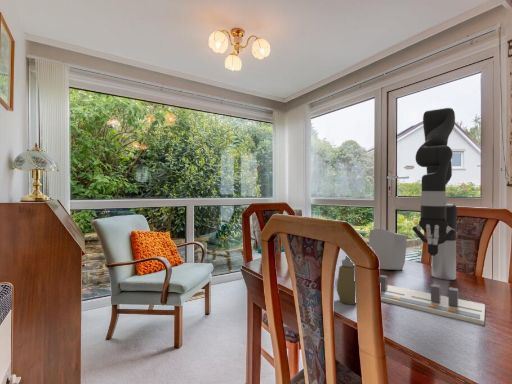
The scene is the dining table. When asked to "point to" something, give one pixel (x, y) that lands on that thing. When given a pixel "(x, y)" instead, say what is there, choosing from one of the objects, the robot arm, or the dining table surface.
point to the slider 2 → (453, 296)
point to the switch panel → (435, 304)
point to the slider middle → (435, 293)
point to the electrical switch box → (389, 248)
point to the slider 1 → (384, 282)
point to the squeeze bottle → (346, 282)
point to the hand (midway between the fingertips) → (432, 255)
